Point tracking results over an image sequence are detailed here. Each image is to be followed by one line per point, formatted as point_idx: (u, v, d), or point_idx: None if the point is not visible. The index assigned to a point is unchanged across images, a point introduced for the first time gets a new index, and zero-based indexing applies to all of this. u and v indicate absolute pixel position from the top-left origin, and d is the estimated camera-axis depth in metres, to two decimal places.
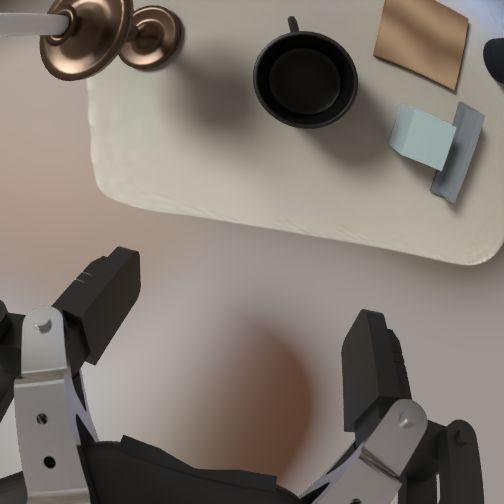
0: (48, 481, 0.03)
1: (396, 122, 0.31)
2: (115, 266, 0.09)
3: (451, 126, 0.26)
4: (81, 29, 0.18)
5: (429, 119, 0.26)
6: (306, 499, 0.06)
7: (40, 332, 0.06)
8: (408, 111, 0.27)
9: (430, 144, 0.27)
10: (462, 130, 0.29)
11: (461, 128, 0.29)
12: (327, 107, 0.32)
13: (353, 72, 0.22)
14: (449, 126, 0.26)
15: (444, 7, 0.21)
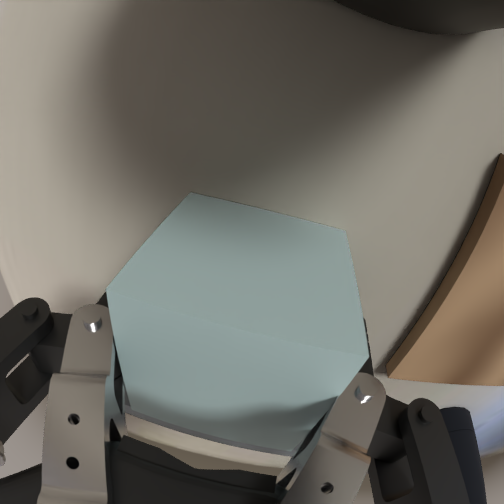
0: (66, 481, 0.03)
1: (275, 220, 0.10)
2: None
3: (291, 444, 0.08)
4: None
5: (313, 401, 0.07)
6: None
7: (91, 331, 0.07)
8: (336, 294, 0.07)
9: (202, 397, 0.07)
10: None
11: None
12: None
13: None
14: (291, 441, 0.08)
15: None
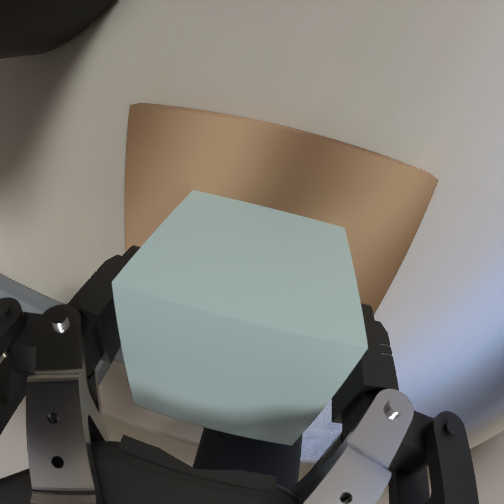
0: (54, 480, 0.03)
1: (276, 217, 0.10)
2: None
3: (292, 438, 0.08)
4: None
5: (313, 394, 0.07)
6: (297, 494, 0.06)
7: (58, 331, 0.06)
8: (336, 288, 0.07)
9: (205, 390, 0.07)
10: None
11: None
12: None
13: None
14: (292, 434, 0.08)
15: None
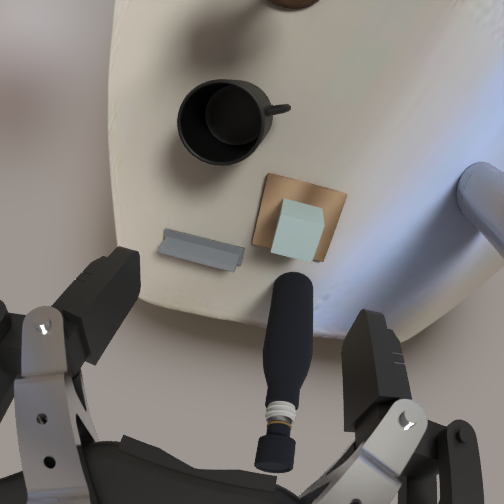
0: (48, 481, 0.03)
1: (305, 205, 0.41)
2: (115, 266, 0.09)
3: (311, 258, 0.39)
4: None
5: (315, 238, 0.38)
6: (306, 499, 0.06)
7: (40, 332, 0.06)
8: (319, 218, 0.38)
9: (293, 240, 0.38)
10: (219, 252, 0.47)
11: (221, 251, 0.47)
12: (213, 134, 0.38)
13: (230, 161, 0.31)
14: (311, 256, 0.39)
15: (328, 241, 0.43)
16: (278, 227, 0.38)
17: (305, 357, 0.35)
